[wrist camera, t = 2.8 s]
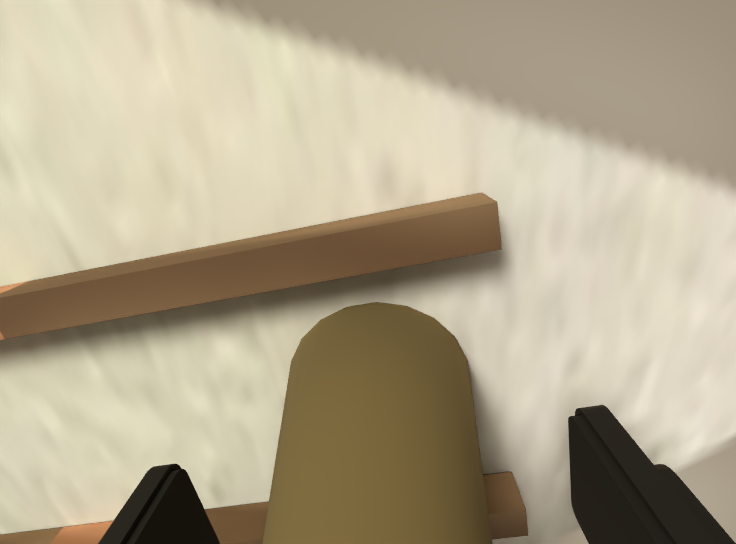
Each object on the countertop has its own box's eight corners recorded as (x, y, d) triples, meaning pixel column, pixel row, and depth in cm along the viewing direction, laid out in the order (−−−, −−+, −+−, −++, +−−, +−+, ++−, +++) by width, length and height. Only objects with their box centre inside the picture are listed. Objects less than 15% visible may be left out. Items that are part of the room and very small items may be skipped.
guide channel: (513, 495, 14) (539, 567, 12) (-49, 562, 17) (-119, 632, 15) (482, 192, 11) (510, 209, 8) (-236, 333, 13) (-371, 377, 11)
